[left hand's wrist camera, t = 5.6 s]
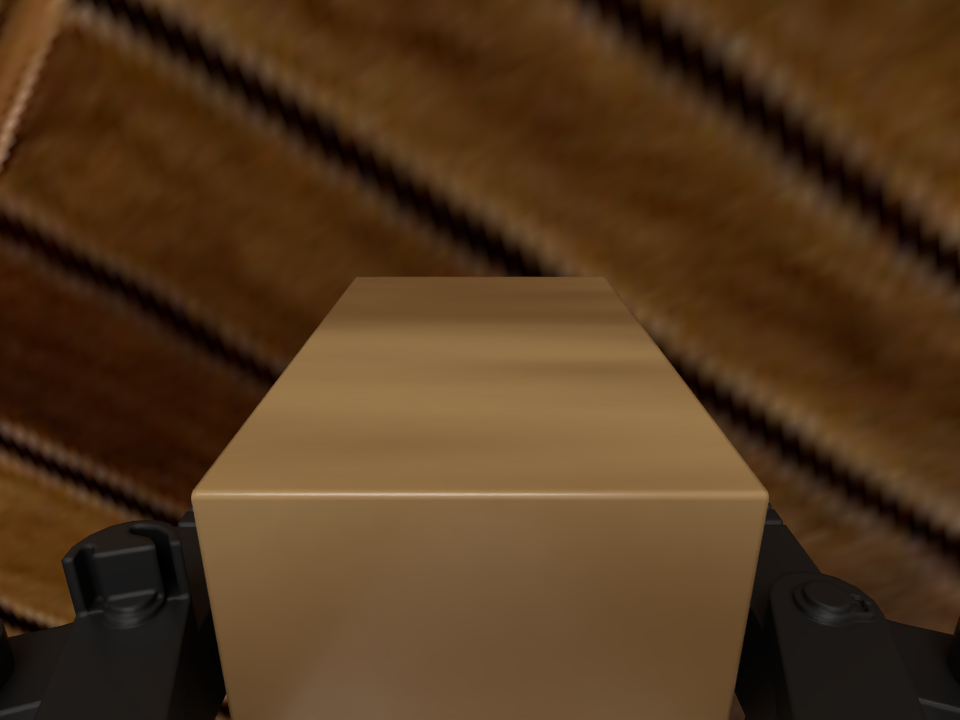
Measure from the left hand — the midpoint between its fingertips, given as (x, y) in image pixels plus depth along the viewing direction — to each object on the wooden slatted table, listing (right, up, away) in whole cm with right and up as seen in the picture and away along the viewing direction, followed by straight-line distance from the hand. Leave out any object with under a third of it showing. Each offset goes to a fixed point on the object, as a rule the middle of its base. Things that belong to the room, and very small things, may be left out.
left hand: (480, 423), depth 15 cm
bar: (0, -8, +4) cm, 9 cm away
